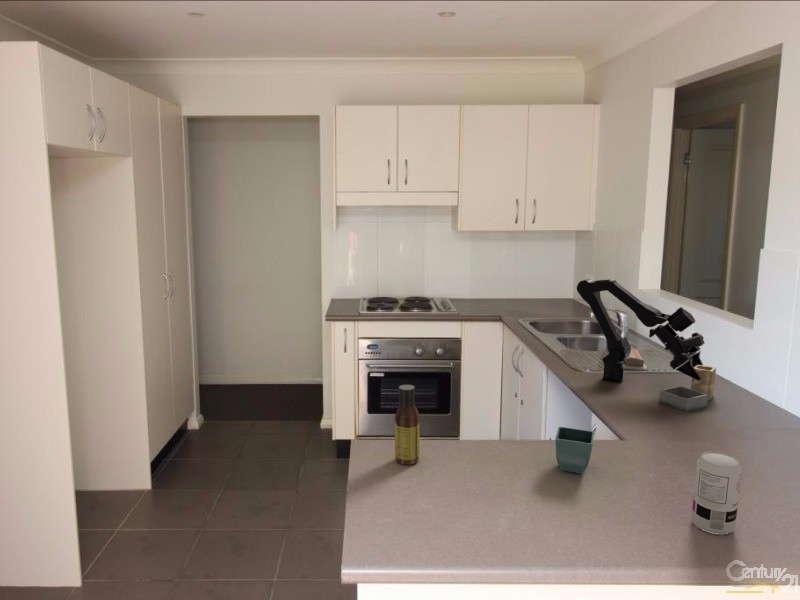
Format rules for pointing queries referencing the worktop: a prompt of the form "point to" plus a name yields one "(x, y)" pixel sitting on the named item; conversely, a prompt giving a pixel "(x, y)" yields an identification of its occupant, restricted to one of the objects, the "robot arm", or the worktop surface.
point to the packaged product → (634, 361)
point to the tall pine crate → (704, 380)
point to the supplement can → (716, 492)
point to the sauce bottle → (407, 427)
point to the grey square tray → (683, 398)
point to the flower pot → (573, 449)
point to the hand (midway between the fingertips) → (702, 376)
